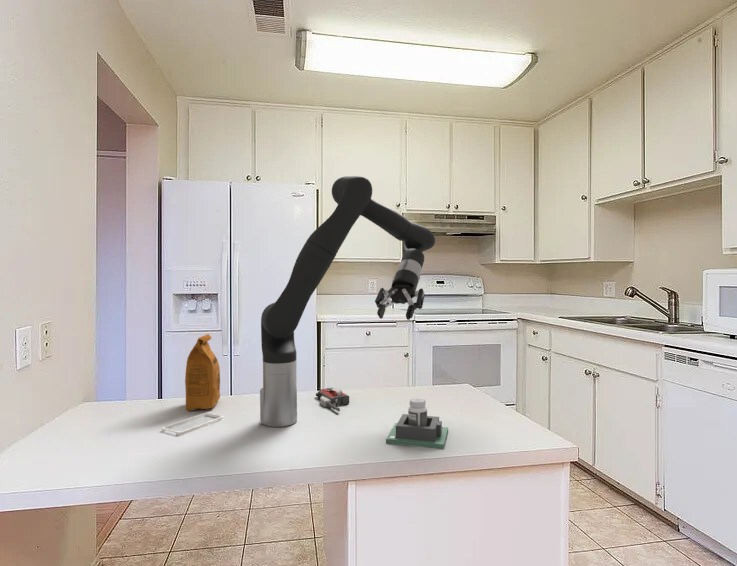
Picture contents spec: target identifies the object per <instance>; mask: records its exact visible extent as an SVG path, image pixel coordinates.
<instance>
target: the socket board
mask: <svg viewBox="0 0 737 566" xmlns="http://www.w3.org/2000/svg"><path fill="white" fill-rule="evenodd" d="M442 424H443V422H442V421H441V420H440V416H431V415H427V426H415V425H408V414H406V413H403V414H402V415H401V417H400V418H399V419H398V422H395V424H394V425H393V426H392V428H391V430H390V431H389V433H388V435H387V436H386V437H385V443H386V444H390V443H394V444H393V445H401V444H403V445H402V446H411V445H412V446H413V447H421V446H422V448H432V447H433V448H434V449H442V448H444V449H445V446H444V445H446V442H447V437H448V433H449V427H448V426H447V427H446V426H443V425H442Z"/></svg>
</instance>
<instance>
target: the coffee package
mask: <svg viewBox="0 0 737 566" xmlns="http://www.w3.org/2000/svg"><path fill="white" fill-rule="evenodd" d="M211 339H212V336H211V335H210V333H207V334H205V335H204V334H203V336H200V337H198V338H197V341H196V343H195V344H194V346H193V347H192V349H191V351H190V352H189V354H188V356H187V358H186V359H187V360H186V366H185V377H184V384H185V386H184V387H185V411H189V412H191V411H198V410H208V409H213V408H214V407H215V406H216V404H217V403H218V402H219V400H220V398H221V391H220V390H221V369H220V368H221V367H220V363H219V360H218V358H217V356H216V355H215V354H214V352H213V351H212V350H211V347H210V343H209V341H210V340H211Z"/></svg>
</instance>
